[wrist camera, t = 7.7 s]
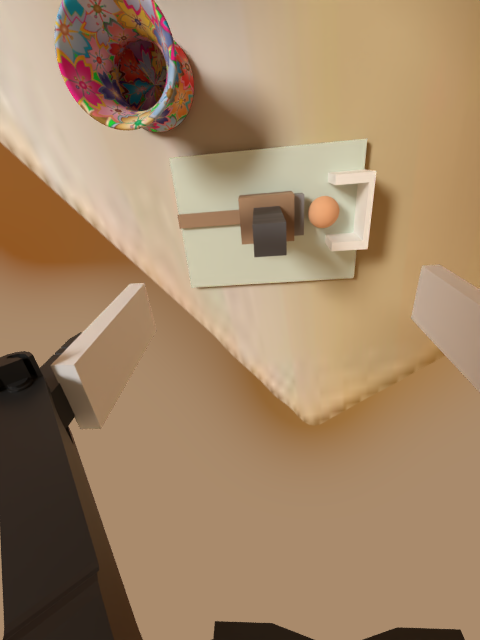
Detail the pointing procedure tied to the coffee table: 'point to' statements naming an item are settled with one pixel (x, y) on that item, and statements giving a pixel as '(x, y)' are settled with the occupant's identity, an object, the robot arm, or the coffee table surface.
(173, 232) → the coffee table surface
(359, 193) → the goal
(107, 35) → the mug
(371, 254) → the coffee table surface
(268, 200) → the kicker
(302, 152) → the pitch
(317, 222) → the ball
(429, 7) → the coffee table surface
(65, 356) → the robot arm
